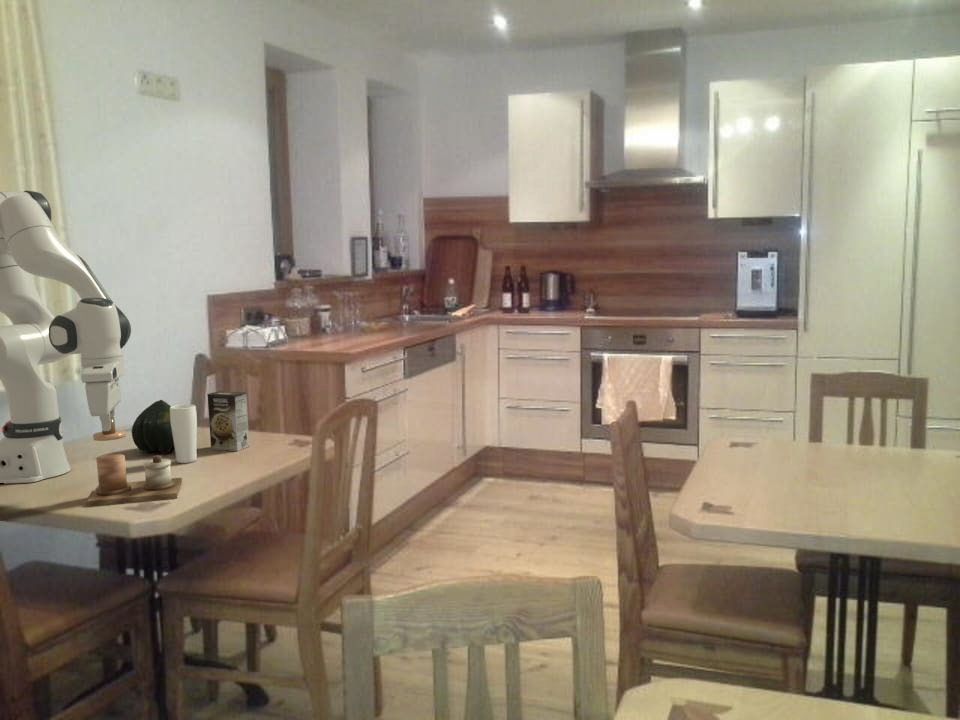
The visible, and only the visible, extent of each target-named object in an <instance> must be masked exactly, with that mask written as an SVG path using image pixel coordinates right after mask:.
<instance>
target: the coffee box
mask: <svg viewBox="0 0 960 720" xmlns="http://www.w3.org/2000/svg"><path fill="white" fill-rule="evenodd" d="M247 396H248V395H247V392H246V391H230V390H229V391H226V390H219V391H214V392H213V391H212V392H211V393H210V392H209V393H208V394H207V406H208V410H207V411H208V422H209V425H208V426H209V438H210V439H209V440H210V450H213V451H226V450H229V451H230V452H239V451H242V450H244V449H246V447H247V448H249V447H250V437H249V419H248V417H249V415H248V414H249V413H248V399H247V398H248V397H247ZM248 446H249V447H248ZM243 448H244V449H243ZM241 449H242V450H241ZM229 451H228V452H229Z"/></svg>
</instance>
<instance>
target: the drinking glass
mask: <svg viewBox="0 0 960 720" xmlns="http://www.w3.org/2000/svg"><path fill="white" fill-rule="evenodd" d="M170 423H171V429H172V435H173V441H174V447H175V451H174V452H175V460H176V462H177V463H178V464H190V463H193V462H196V461H197V459H198V453H197V444H198V443H197V442H198V440H197V439H198V438H197V437H198V435H197V434H198V433H197V432H198V415H197V406H196V404H189V403H187V404H176V405H173V406H172V405H171V407H170Z"/></svg>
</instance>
